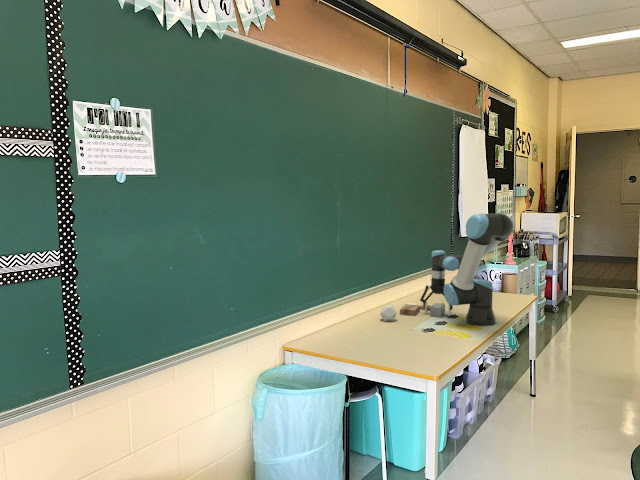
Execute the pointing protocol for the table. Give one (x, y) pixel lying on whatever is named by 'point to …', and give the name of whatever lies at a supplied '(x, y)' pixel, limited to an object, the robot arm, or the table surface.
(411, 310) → the plinth
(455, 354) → the table surface
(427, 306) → the felt eraser
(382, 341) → the table surface
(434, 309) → the block
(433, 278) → the robot arm
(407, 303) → the chalk box
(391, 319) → the die
